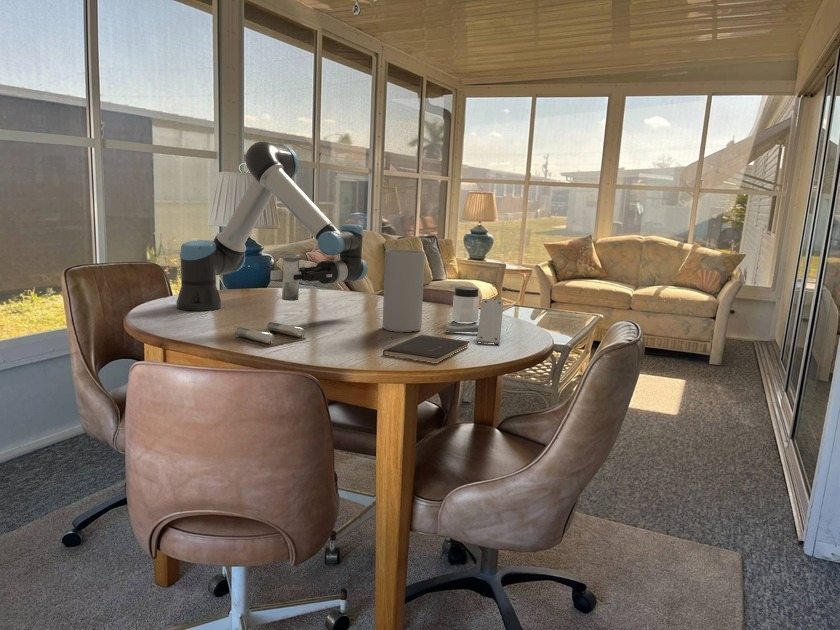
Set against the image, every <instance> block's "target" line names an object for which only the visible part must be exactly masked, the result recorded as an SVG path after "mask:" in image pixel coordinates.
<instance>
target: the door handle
mask: <svg viewBox="0 0 840 630" xmlns="http://www.w3.org/2000/svg"><path fill="white" fill-rule="evenodd" d="M504 302H505V301H504V300H502V299H501V300H500V299H491V298H482V299H481V304H480V305H481V306H480V313H479V318H478V325H477V324H476V325H475V324H473V325H466V326H465V325H464V326H453V325H451V324H450V323H446V324H445V326H444V327H445V332H446V331H449V332H472V333H477V336H476V343H477V342H481V343H494V344H499V345H500V343H501V335H502V334H501V333H502V324H503V322H502V321H503V314H504V313H503V311H504Z"/></svg>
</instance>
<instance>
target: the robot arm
mask: <svg viewBox="0 0 840 630" xmlns="http://www.w3.org/2000/svg"><path fill="white" fill-rule="evenodd" d="M244 158H245V165H246V167H247V170H248V171H249V172H250V174H251V176H252V177H253V178H252V180H251V181H250V183H249V185H248V187H247V188H246V190H245V192H244V194H243V196H242V197H241V200H240V201H239V203H238V204H237V207H236V208H235V210H234V212H233V213H232V215H231V218H229V221H228V223H227V224H226V226H225V228H224V229H223V231H221V232H218V233H216V235H215V237H214V239H213V240H208V239H204V240H203V239H202V240H201V239H199V240H190V241H186V242H184V243H182V244H181V246H180V255H179V256H180V281H181V286H180V289H179V293H178V297H177V300H176V302H175V303H176V305H175V306H176V309H177V310H181V309H182V311H189V310H192V312H193V311H195V312H196V311H197V312H201V311H202V312H205V311H204V310H206V311H213V310H218V309H221V308H222V306H223V305H222V304H223V303H222V299H221V296H220V292H219V291H218V288H217V277H218V276H222V275H230V274H233V273H236V272H238V271H240V270H241V269H242V268H243V267H244V264H245V263H246V251H247V246H246V242H247V240H248V239H249V237H250V235H251V234H252V232H253V230H254V228H255V226H256V225H257V223H258V222H259V220H260V218H261V216H262V214H263V212H264V211H265V209H266V207H267V206H268V203H269V202H270V200H271V199H272V197H273V195H274V196H275V197H276V198H277V199H278V200H279V202H281V204H283V206H285V208H286V209H287V210H288V211H289V212H290V213H291V214H292V215H293V217H294V218H296V220H297V221H298V222H299V223H300V224H301V225H302V226H303V227H304V228H305V229H306V231H308V233H310V234H311V236H312V237H313V238H314V240H316V241H317V247H318V250H319V251H320V252H321V253H322V254H324V255H327V256H337V255H339V259H332V260H331V259H330V260H321V261H319V262H318V263H316V266H314V265H313V266H310V267H309V266H308V267H307V266H306V267H305V266H299V272H291V273H284V282H293V281H299V282H301V281H302V282H306V281H307V282H315V281H318V282H319V283H320V284H323V285H326V284H327V285H328V284H335V285H338V284H339V283H342V282H343V283H344V282H356V281H360V280H363V279H364V278H365V277H366V276H367V274H368V266H367V265H368V264H367V262H366V261H365V260H364V259H363V258H362V254H363V253H362V252H363V251H362V250H363V237H364V235H363V234H364V233H363V230H364V229H363V226H362V225H360V224H354V223H352V224H349V223H348V224H347V223H343V224H342V225H341V226H340V230H339V229H338V228H337V227H336V226H335V224H334V223H332V222H331V220H330V219H329V218H328V217H327V216H326V215H325V214H324V213H323V211H322V210H320V209H319V207H318V206H317V205H316V204H315V203H314V202H313V201H312V200H311V199H310V197H308V195H306V193H305V192H304V191H303V190H302V189H301V188H300V187H299V186H298V185H297V183H296V182H294V180H292V178H294V177H295V176H296V175H297V173H298V171H299V167H300V162H299V158H298V155H297V152H295V151H294V149H292V147H290V146H287V145H285V144H281V143H280V144H279V143H278V144H277V143H274V142H273V143H272V142H269V141H258V142H255V143H253V144H252V145H250V147H249V148H248V149H247V151H246V153H245V157H244ZM270 280H272V281H274V280H275V281H276V280H283V269H278V270H270Z"/></svg>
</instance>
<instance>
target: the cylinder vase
mask: <svg viewBox="0 0 840 630" xmlns="http://www.w3.org/2000/svg"><path fill="white" fill-rule="evenodd" d="M425 254H426V253H425V251H423V250H422V251H421V250H413V249H386V250H385V251H384V269H383V270H384V274H383V275H384V276H383V277H384V280H383V299H382V300H383V303H382V308H383V309H382V328H383V329H384V330H385V329H386V330H385V331H388V330H389V331H388V332H392V331H394V332H393V333H403V332H407V333H413V332H412V331H416V332H418V330H419V331H420V330H421V329H422V325H423V323H422V322H423V321H422V320H423V319H422V317H423V300H424V299H423V297H424V282H425V281H424V277H425V260H426V259H425V256H426V255H425Z"/></svg>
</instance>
